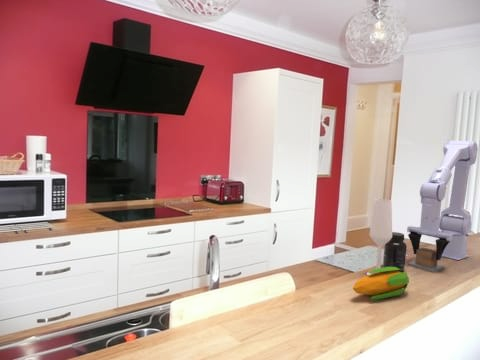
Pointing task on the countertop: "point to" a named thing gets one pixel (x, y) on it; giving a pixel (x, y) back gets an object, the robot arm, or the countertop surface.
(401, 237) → the supplement bottle
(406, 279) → the corn
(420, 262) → the walnut cube
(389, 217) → the champagne flute
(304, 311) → the countertop surface
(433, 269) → the slate coaster
